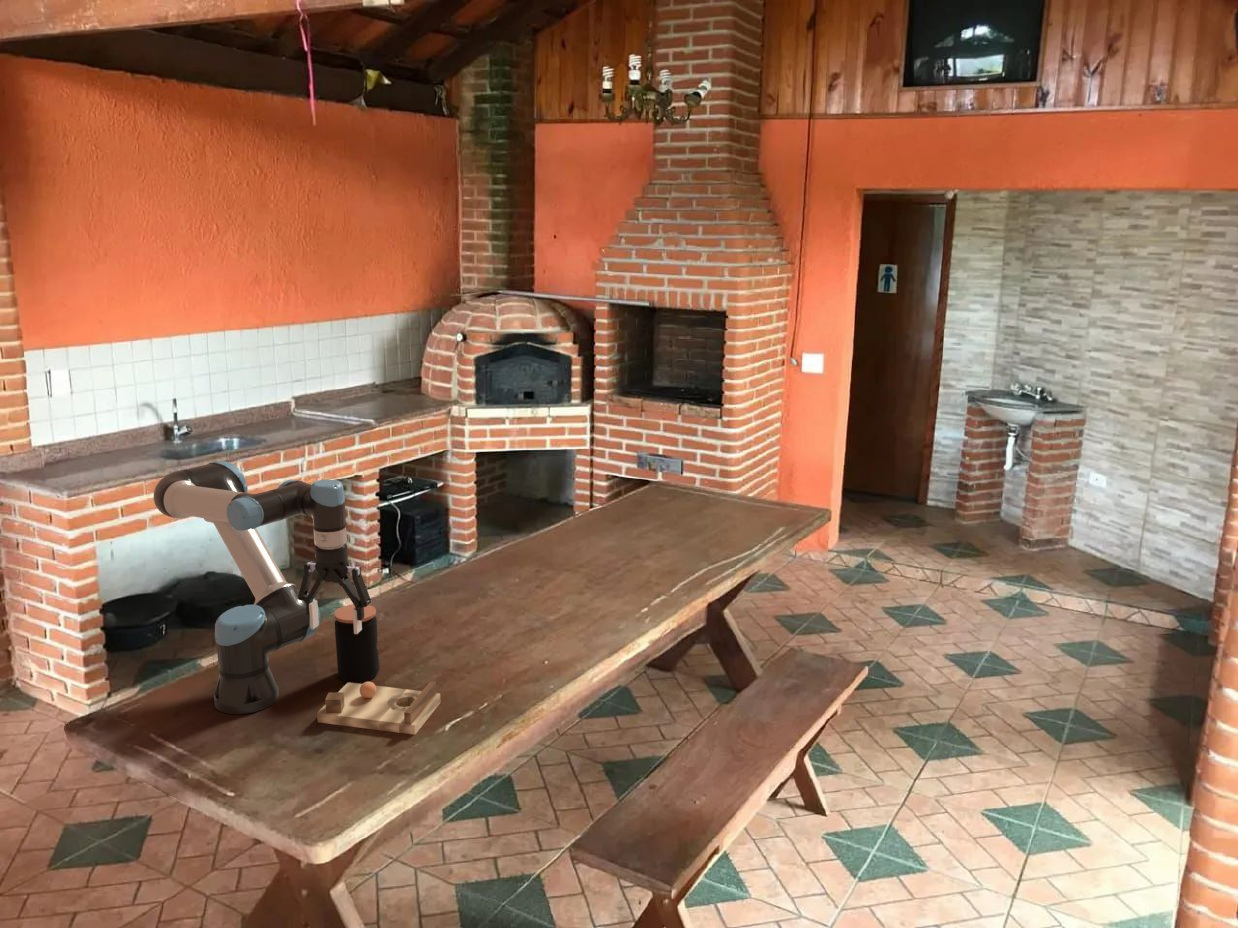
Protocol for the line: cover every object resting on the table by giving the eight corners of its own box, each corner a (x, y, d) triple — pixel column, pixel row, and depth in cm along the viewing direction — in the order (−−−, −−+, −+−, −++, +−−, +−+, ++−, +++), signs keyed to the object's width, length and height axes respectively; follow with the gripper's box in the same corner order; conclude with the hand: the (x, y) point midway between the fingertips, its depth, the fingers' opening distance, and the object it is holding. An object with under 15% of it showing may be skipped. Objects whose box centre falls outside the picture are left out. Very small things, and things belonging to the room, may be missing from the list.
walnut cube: (326, 713, 242) (325, 699, 242) (329, 706, 246) (328, 692, 245) (341, 713, 243) (340, 699, 242) (344, 705, 246) (343, 692, 245)
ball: (357, 700, 249) (356, 685, 248) (364, 692, 253) (363, 678, 252) (372, 702, 248) (371, 687, 247) (379, 694, 252) (378, 679, 251)
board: (317, 722, 243) (316, 701, 242) (348, 691, 258) (347, 671, 257) (415, 734, 238) (414, 713, 237) (440, 702, 253) (439, 682, 252)
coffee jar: (387, 674, 267) (384, 611, 263) (352, 688, 260) (348, 623, 255) (365, 662, 275) (361, 600, 270) (330, 675, 267) (325, 611, 262)
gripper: (278, 545, 240) (285, 630, 246) (369, 554, 236) (373, 640, 242) (294, 535, 247) (300, 618, 253) (382, 543, 243) (387, 627, 249)
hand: (336, 629), depth 247 cm, fingers open, 11 cm apart
